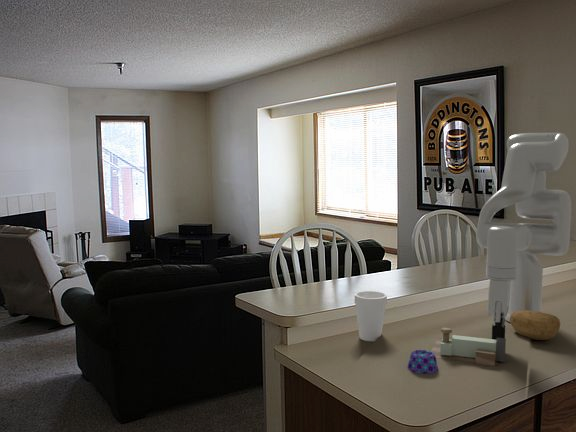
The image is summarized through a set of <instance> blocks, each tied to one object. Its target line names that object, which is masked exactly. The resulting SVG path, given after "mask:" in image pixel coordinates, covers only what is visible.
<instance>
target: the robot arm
mask: <svg viewBox="0 0 576 432" xmlns="http://www.w3.org/2000/svg"><path fill="white" fill-rule="evenodd" d="M506 149H507V152H506V158H505V165H504V170H503V175H502V181H501V187H500V189H499V190H498V191H496V192H495V193H493V195H492V196H490V198H489V199H488V200H486V202H485V203H484V205H483V206H482V208H481V210H480V212H479V217H478V222H477V228H476V235H475V237H476V242H477V244H478V245H479V247H481V248H483V249H486V265H485V278H487V279H488V280H489V283H488V299H487V311H486V313H487V314H486V315H487V316H488V317H490V316H492V327H491V339H494V340H497V338H506V324H505V322H509V323H510V316H511V314H513V313H514V312H516V311H520V310H526V311H539V312H542V301H543V300H542V297H543V277H544V275H543V274H544V273H543V271H544V269H543V265H542V263H541V261H540V260H539V259H538V257H537V256H536V255H545V256H557V257H558V256H565V255H566V254H567V253H568V251H569V248H570V241H571V237H570V236H571V220H572V200H571V196H570V194H569V192H568V191H566V190H562V189H548V188H546V187H547V186H546V185H547V182H546V181H547V173H546V172H556V171H558V170H559V169H560V168H561V166H562V165H563V163H564V161H565V159H566V157H567V155H568V152H569V138H568V137H567V135H566V134H565V133H562V132H523V133H516V134H513V135H511V136H509V137H508V138H507V140H506ZM514 204H515V214H516V215H517V216H518V217H520V218H522V219H529V220H541V221H542V220H543V221H552V222H553V224H547V223H533V222H532V223H531V222H521V223H509V222H508V223H507V222H497V221H496V222H493V221H492V219H493V217H494V216H495V215H496V213H498V212H499V211H500V210H502V209H504V208H506V207H509V206H512V205H514Z"/></svg>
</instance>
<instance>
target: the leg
mask: <svg viewBox="0 0 576 432" xmlns="http://www.w3.org/2000/svg"><path fill="white" fill-rule="evenodd" d="M506 341H507V339H506V337H505V338H497V340H494V339H492V338H483V337H473V336H466V335H464V336H463V335H456V334H452V335H451V340H450V338H449V343H443V339H442V342H441V344H440V355H449V356H451V355H455V356H463V357H471V358H476V350H477V349H480V350H488V351H495V360H496V361H498V362H502V363H505V362H506V343H507V342H506Z"/></svg>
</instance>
